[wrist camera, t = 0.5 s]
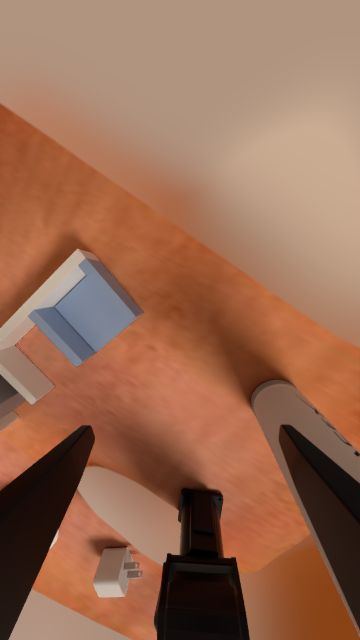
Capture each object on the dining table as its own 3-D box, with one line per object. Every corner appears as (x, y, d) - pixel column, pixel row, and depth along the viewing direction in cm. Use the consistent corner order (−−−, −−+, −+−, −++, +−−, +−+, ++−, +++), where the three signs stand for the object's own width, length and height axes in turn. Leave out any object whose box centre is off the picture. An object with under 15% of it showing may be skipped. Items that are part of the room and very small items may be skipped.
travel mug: (262, 428, 24) (556, 1042, 5) (242, 390, 23) (506, 961, 4) (307, 412, 23) (928, 1110, 4) (288, 371, 22) (993, 1019, 3)
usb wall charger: (104, 546, 32) (92, 583, 28) (140, 544, 31) (133, 581, 27) (111, 561, 32) (100, 599, 28) (146, 559, 32) (140, 599, 28)
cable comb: (14, 420, 27) (-7, 437, 24) (-31, 377, 26) (-60, 389, 23) (143, 312, 22) (136, 317, 19) (93, 253, 21) (77, 248, 18)
